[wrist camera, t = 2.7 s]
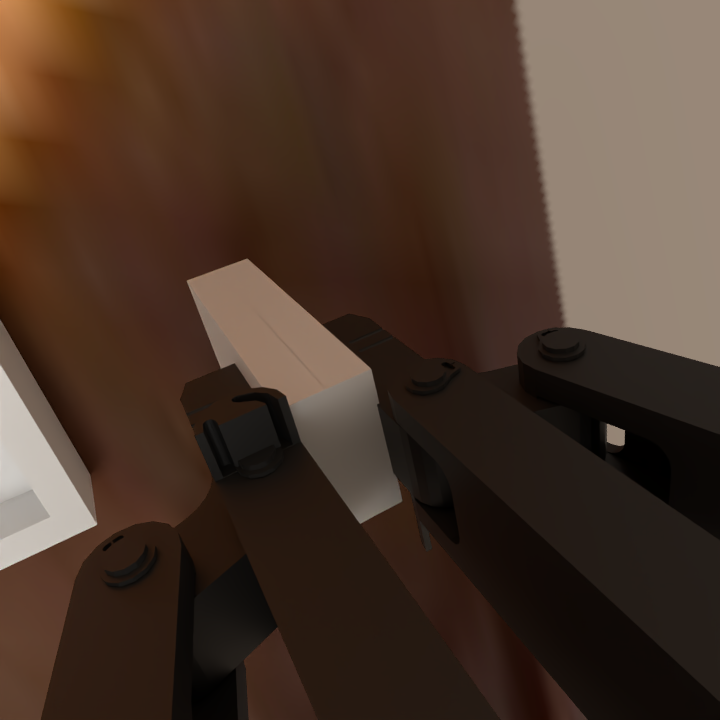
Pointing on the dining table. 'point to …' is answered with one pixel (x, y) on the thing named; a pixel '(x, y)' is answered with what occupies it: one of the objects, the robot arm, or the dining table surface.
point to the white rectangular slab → (36, 467)
